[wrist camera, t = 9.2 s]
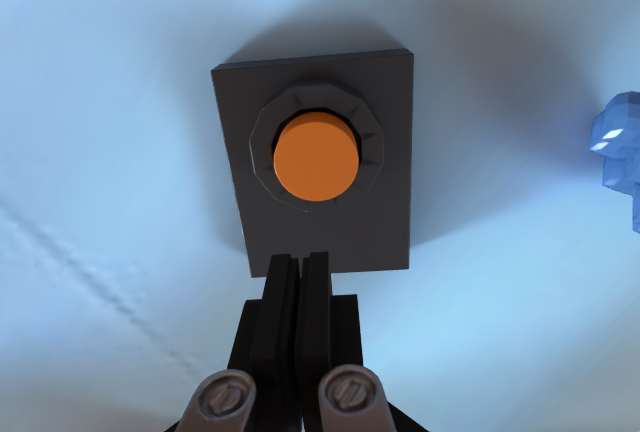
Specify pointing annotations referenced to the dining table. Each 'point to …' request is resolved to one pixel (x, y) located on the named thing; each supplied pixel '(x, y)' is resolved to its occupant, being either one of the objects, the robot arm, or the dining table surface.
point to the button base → (372, 146)
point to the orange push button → (316, 156)
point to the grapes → (620, 147)
